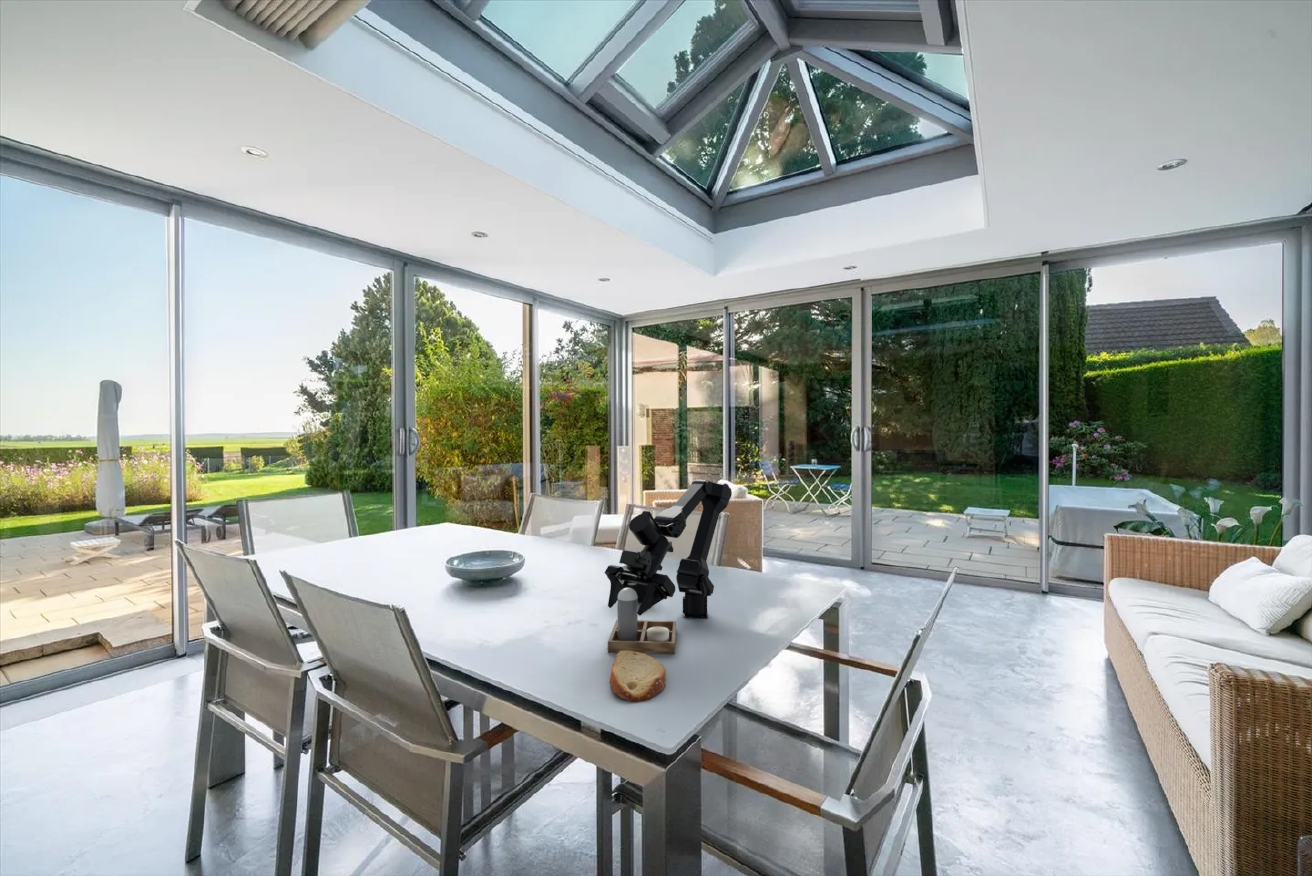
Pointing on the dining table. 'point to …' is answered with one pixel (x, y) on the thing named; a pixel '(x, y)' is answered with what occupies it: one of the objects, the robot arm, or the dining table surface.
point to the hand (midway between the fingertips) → (623, 610)
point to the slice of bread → (637, 676)
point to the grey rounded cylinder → (627, 615)
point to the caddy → (647, 638)
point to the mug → (636, 587)
